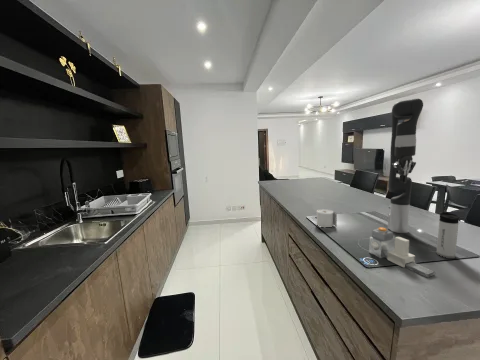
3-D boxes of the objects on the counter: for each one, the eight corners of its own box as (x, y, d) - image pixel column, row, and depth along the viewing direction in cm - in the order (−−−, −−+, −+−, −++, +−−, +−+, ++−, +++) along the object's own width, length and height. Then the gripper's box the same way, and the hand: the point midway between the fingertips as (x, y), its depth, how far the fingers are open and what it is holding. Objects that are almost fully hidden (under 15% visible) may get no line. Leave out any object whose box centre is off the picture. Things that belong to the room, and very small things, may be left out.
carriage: (387, 259, 96) (388, 237, 94) (398, 256, 98) (399, 234, 96) (403, 267, 89) (405, 243, 87) (414, 263, 91) (416, 240, 89)
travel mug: (449, 252, 99) (453, 212, 96) (458, 259, 93) (462, 216, 90) (433, 250, 101) (436, 211, 98) (441, 257, 95) (444, 216, 92)
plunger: (376, 236, 102) (376, 228, 101) (381, 235, 103) (381, 226, 102) (383, 239, 99) (383, 230, 98) (388, 238, 100) (388, 229, 99)
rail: (384, 257, 98) (384, 254, 98) (390, 255, 100) (390, 252, 99) (427, 277, 82) (427, 274, 82) (434, 275, 83) (434, 271, 83)
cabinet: (368, 252, 103) (369, 230, 101) (382, 248, 106) (383, 227, 104) (380, 258, 98) (380, 235, 96) (394, 254, 100) (395, 231, 99)
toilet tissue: (316, 222, 148) (315, 209, 146) (334, 223, 144) (334, 209, 143) (317, 228, 138) (317, 213, 136) (336, 229, 134) (337, 214, 133)
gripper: (406, 145, 100) (404, 180, 102) (386, 146, 95) (384, 183, 98) (424, 144, 92) (421, 182, 95) (403, 146, 88) (401, 185, 91)
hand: (403, 182), depth 96 cm, fingers closed
